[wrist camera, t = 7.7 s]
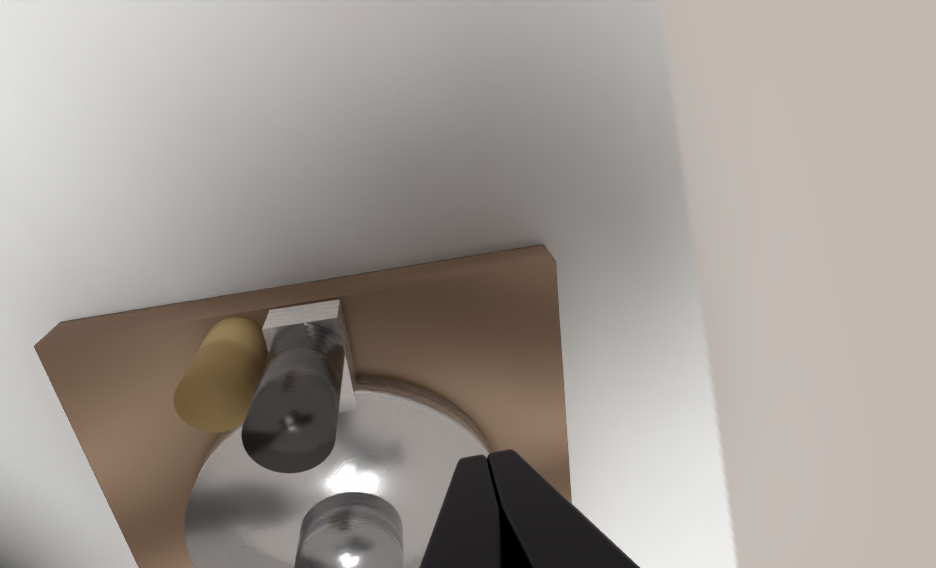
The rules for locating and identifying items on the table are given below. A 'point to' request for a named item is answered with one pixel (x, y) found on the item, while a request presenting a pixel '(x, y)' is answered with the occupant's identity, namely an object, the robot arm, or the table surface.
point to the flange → (326, 460)
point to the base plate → (388, 339)
